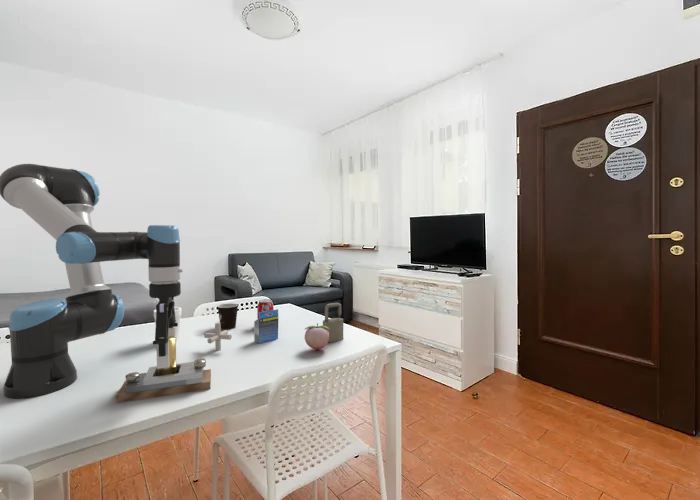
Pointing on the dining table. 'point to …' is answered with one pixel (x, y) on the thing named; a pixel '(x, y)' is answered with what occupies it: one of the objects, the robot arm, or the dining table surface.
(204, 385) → the walnut board
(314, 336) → the decorative fruit
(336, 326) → the padlock
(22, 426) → the dining table surface
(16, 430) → the dining table surface
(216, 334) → the pipe connector
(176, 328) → the foam cup
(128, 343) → the dining table surface
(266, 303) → the soda can
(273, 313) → the label tape box
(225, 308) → the coffee mug
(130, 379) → the grey slotted fixture
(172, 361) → the brass pin
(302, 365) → the dining table surface
